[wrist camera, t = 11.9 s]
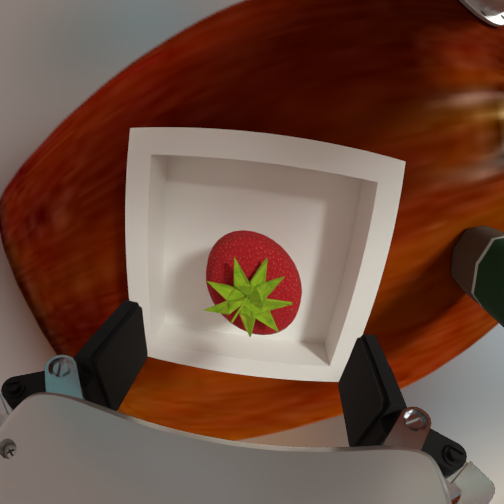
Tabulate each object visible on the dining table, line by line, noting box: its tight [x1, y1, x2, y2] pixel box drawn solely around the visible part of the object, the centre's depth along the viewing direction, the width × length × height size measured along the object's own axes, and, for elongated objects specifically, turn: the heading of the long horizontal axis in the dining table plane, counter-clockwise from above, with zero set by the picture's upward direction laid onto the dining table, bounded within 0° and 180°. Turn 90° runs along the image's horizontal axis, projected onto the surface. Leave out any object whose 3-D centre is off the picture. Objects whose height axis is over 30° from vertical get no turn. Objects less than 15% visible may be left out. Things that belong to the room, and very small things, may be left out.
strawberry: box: [203, 230, 302, 337], centre depth 18 cm, size 6×8×10 cm
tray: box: [125, 127, 405, 382], centre depth 22 cm, size 20×20×4 cm
